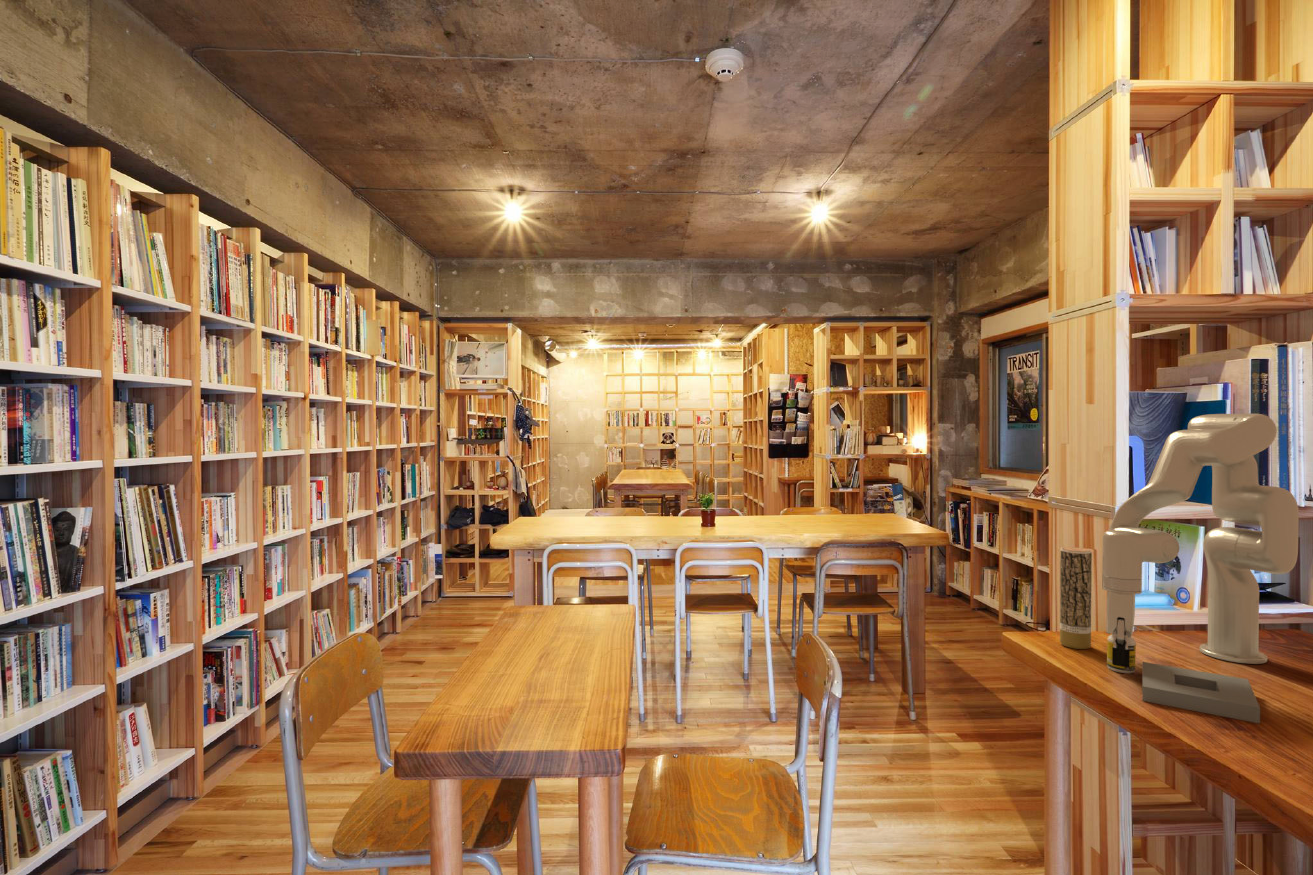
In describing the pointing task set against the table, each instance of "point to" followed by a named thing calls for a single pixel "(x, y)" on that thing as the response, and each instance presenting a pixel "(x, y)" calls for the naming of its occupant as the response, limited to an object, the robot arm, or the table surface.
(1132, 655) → the supplement bottle
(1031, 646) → the table surface
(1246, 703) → the socket board
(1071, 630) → the paper tube
